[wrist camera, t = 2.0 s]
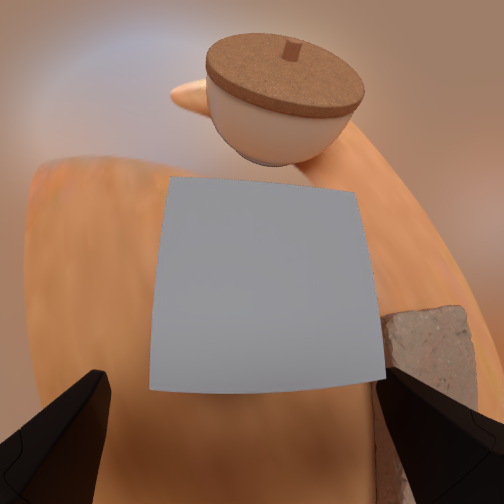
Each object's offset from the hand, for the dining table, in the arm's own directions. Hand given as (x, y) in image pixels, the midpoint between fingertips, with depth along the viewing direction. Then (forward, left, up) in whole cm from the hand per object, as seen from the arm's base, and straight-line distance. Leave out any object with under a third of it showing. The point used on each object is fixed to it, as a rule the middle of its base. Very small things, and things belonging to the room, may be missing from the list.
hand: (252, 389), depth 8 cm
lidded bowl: (+17, +14, -10) cm, 24 cm away
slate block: (+2, +2, -10) cm, 10 cm away
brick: (+8, -12, -10) cm, 18 cm away
